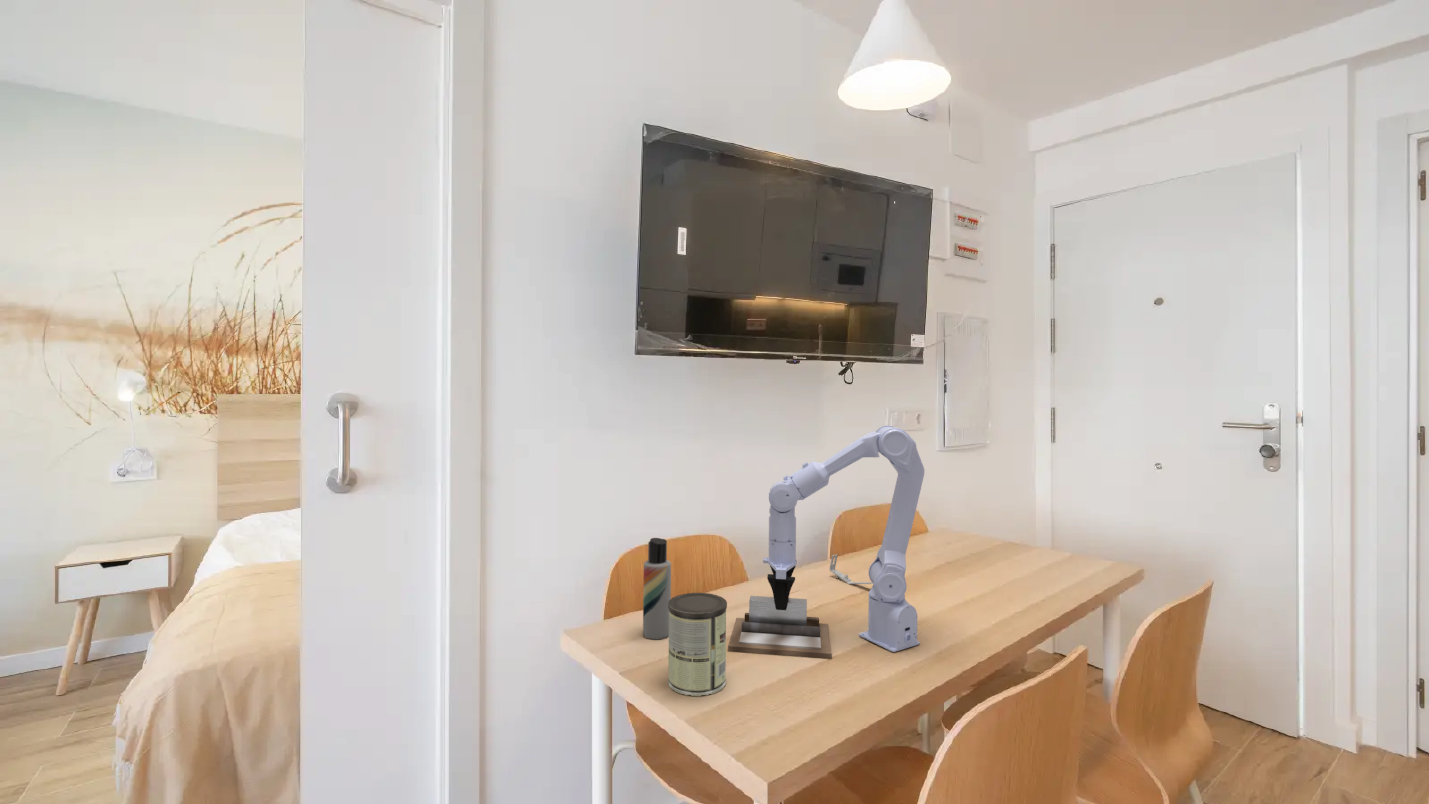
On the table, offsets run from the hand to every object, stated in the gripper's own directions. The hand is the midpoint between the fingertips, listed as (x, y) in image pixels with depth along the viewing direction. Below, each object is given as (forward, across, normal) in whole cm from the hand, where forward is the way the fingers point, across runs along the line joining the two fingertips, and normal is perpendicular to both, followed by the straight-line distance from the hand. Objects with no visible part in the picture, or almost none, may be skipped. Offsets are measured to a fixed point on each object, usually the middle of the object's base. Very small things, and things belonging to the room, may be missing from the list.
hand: (781, 603), depth 125 cm
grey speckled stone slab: (+5, 0, -1) cm, 5 cm away
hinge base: (+6, +3, 0) cm, 7 cm away
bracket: (+7, -36, +18) cm, 41 cm away
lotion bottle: (+6, +5, -26) cm, 27 cm away
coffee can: (+6, +24, -14) cm, 29 cm away
